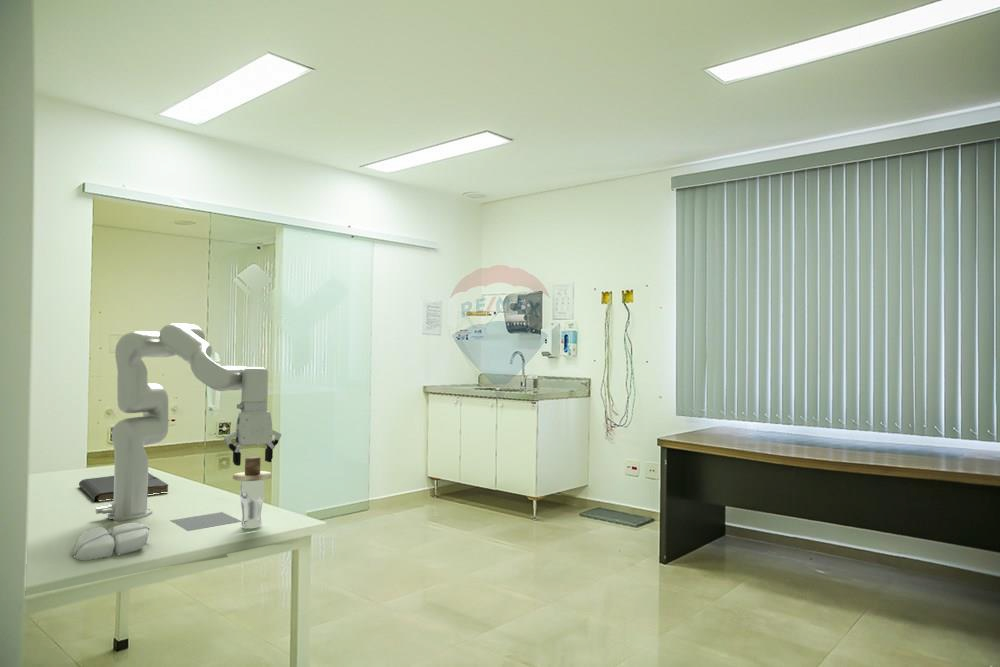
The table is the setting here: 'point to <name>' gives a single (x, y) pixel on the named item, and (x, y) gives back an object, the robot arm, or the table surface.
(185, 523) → the mat
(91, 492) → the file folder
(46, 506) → the table surface
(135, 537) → the lung model
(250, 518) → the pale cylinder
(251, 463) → the lid
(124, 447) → the robot arm
